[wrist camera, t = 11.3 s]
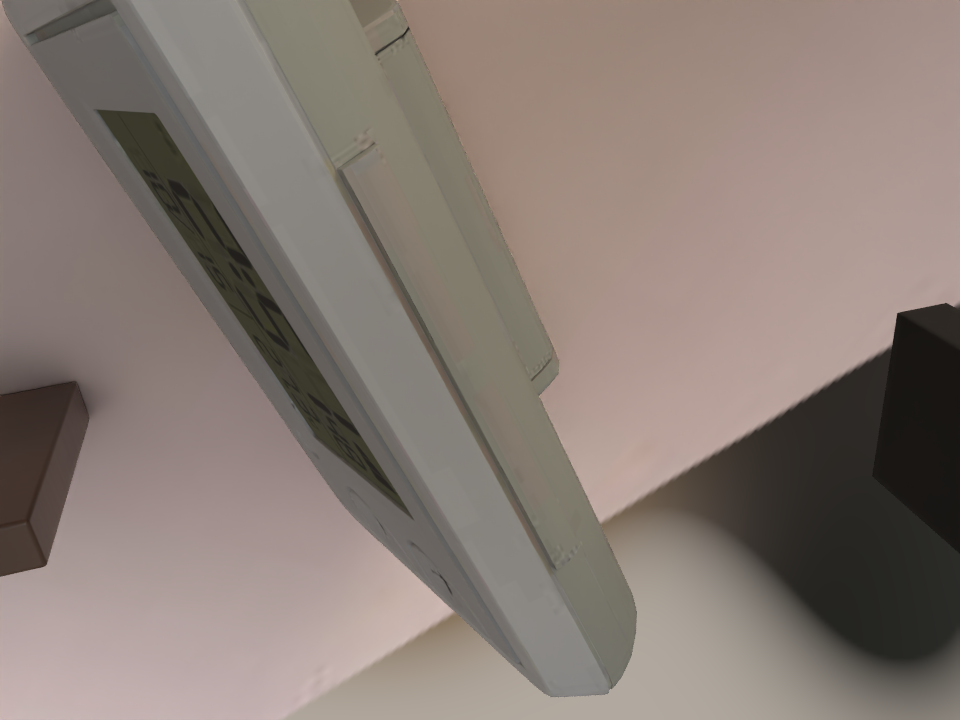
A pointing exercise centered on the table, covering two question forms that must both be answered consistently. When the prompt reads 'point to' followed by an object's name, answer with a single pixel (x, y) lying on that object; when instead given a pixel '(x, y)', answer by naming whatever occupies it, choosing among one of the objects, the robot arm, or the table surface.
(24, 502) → the walnut rack
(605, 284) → the table surface
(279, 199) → the digital clock
